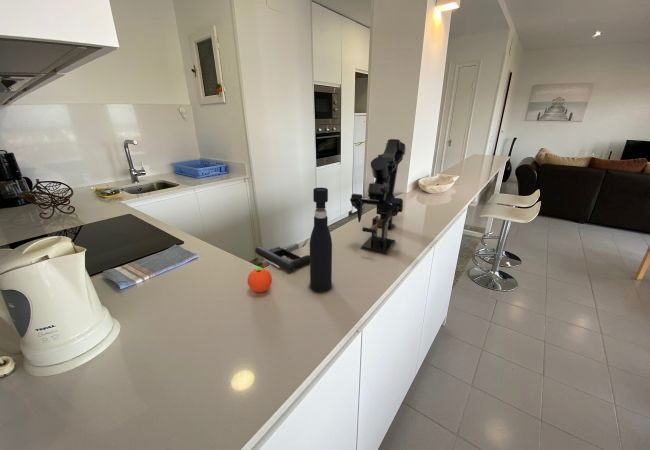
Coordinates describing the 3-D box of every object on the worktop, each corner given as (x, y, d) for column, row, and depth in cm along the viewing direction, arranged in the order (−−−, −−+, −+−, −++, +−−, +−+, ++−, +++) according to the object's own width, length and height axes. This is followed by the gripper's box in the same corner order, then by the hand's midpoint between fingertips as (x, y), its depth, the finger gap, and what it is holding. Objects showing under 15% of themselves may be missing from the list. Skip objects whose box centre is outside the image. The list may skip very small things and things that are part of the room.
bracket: (386, 254, 103) (388, 225, 99) (361, 248, 108) (362, 220, 103) (395, 242, 113) (397, 216, 109) (371, 238, 117) (373, 212, 113)
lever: (375, 235, 95) (376, 228, 94) (361, 232, 97) (362, 226, 97) (387, 226, 107) (388, 220, 106) (375, 223, 109) (375, 218, 109)
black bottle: (315, 294, 79) (314, 193, 69) (306, 283, 85) (304, 187, 74) (335, 288, 82) (337, 190, 71) (325, 278, 88) (325, 185, 77)
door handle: (286, 237, 112) (251, 247, 100) (321, 252, 99) (286, 266, 88) (286, 245, 113) (252, 256, 101) (321, 261, 100) (286, 276, 89)
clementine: (246, 284, 84) (244, 264, 82) (269, 280, 87) (267, 259, 84) (250, 299, 77) (248, 277, 75) (275, 293, 80) (273, 272, 77)
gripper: (352, 171, 99) (341, 209, 94) (405, 175, 93) (397, 216, 87) (357, 188, 109) (348, 223, 104) (405, 192, 103) (398, 230, 97)
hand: (371, 223), depth 98 cm, fingers open, 9 cm apart
